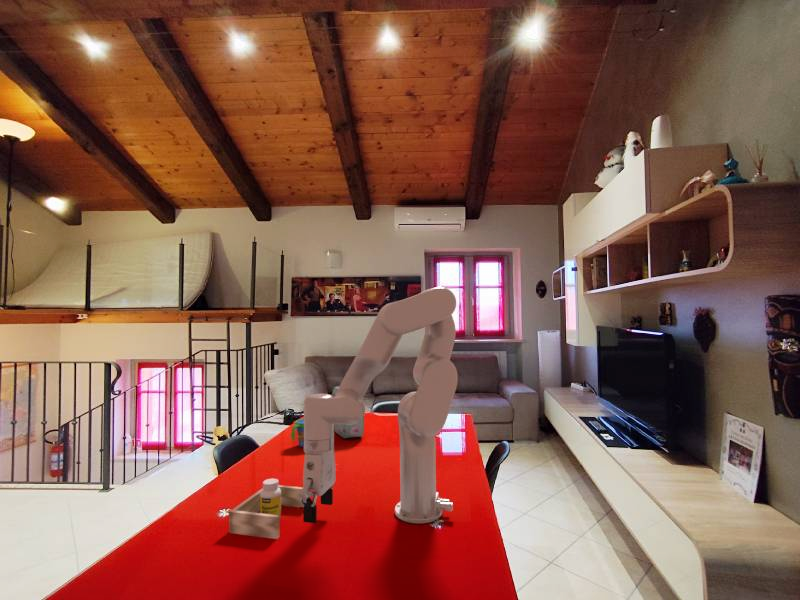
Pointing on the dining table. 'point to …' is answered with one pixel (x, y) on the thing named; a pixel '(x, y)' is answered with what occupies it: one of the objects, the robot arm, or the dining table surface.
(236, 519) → the open-sided box
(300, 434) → the snack cup
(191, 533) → the dining table surface
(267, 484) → the supplement bottle
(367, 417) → the dining table surface
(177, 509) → the dining table surface
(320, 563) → the dining table surface
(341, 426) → the lunch box
